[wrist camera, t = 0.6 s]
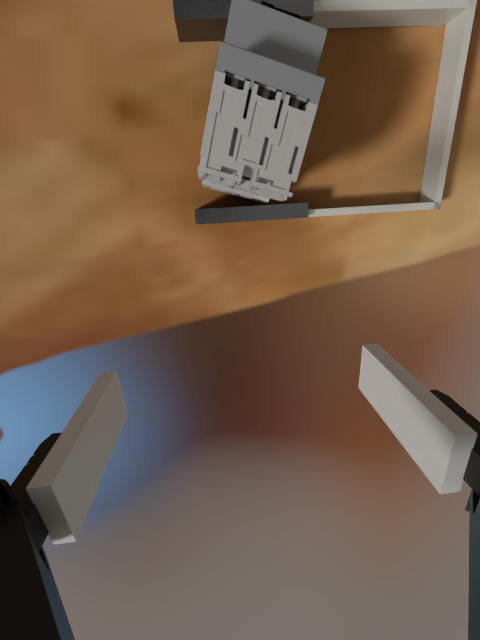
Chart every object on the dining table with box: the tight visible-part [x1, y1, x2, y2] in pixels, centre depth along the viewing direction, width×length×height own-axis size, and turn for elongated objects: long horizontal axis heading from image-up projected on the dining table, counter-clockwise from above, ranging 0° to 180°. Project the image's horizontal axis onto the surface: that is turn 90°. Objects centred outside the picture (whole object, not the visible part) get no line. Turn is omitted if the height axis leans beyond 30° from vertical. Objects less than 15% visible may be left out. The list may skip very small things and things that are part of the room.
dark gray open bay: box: [173, 0, 314, 224], centre depth 32 cm, size 20×13×4 cm, turn 3°
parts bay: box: [308, 0, 477, 217], centre depth 34 cm, size 20×17×3 cm
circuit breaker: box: [197, 0, 328, 203], centre depth 27 cm, size 8×14×15 cm, turn 166°
